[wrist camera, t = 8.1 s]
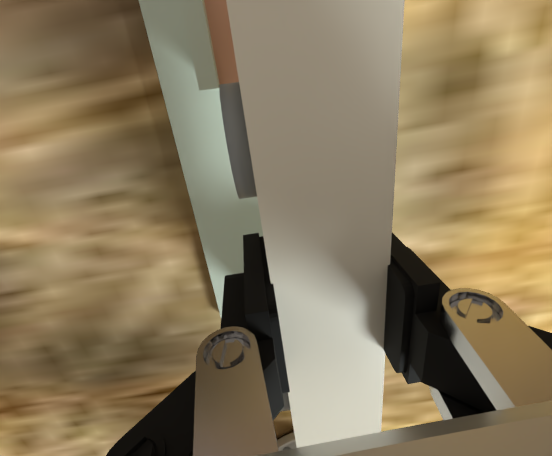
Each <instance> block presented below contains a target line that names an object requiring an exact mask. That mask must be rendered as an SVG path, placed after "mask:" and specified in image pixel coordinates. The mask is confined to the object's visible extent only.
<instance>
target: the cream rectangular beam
mask: <svg viewBox="0 0 552 456" xmlns="http://www.w3.org/2000/svg"><path fill="white" fill-rule="evenodd" d="M226 2H227V9H228V15H229V21H230V28H231V34H232V41H233V47H234V53H235V60H236V66H237V72H238V79H239V82H235V83H228V84H221V85H219V93H220V103H221V111H222V118H223V125H224V131H225V137H226V143H227V149H228V154H229V160H230V165H231V170H232V175H233V179H234V183H235V188H236V191H237V195H238V198H239V199H244V198H250V197H257V199H258V206H259V212H260V218H261V225H262V231H263V238H264V244H265V250H266V257H267V263H268V269H269V276H270V282H271V284H273V286H274V292H275V298H276V304H277V311H278V317H279V324H280V330H281V337H282V343H283V350H284V356H285V363H286V370H287V376H288V383H289V389H290V392H288V393H283V401H284V407H283V408H282V410H281V411H287V410H291V415H292V422H293V428H294V434H295V441H296V447H297V448H299V447H304V446H309V445H314V444H319V443H325V442H330V441H335V440H340V439H346V438H351V437H356V436H362V435H367V434H372V433H378V432H381V422H382V403H383V385H384V367H385V351H384V330H385V310H386V291H387V271H388V265H390V256H391V238H392V220H393V201H394V183H395V164H396V146H397V128H398V109H399V91H400V73H401V54H402V36H403V17H404V0H226ZM281 411H280V412H281Z"/></svg>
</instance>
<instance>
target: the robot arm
mask: <svg viewBox="0 0 552 456" xmlns="http://www.w3.org/2000/svg"><path fill="white" fill-rule="evenodd" d="M243 261H244V273H238V274H232V275H226V276H225V278H224V291H223V304H222V317H221V329H219V330H217V331H215V332H213V333H212V334H210V335H209V336H207V337H206V338H205V339H204V340H203V341H202V343H201V345H200V346H199V348H198V351H197V356H196V371H195V372H194V373H192V374H191V375H190V376H189V377H188V378H187V379H186V380H185V381H184V382H182V383H181V384H180V385H179V386H178V387H177V388H176V389H175V390H174V391H173V392H171V393H170V394H169V395H168V396H167V397H166V398H165V399H164V400H163V401H162V402H160V403H159V404H158V405H157V406H156V407H155V408H154V409H153V410H152V411H150V412H149V413H148V414H147V415H146V416H145V417H144V418H143V419H142V420H141V421H139V422H138V423H137V424H136V425H135V426H134V427H133V428H132V429H131V430H129V431H128V432H127V433H126V434H125V435H124V436H123V437H122V438H121V439H120V440H119V441H118V442H117V443H116V444H115V445H114V446H113V447H112V448H111V449H110V450H109V452H108V453H107V455H106V456H552V333H550V332H546V331H543V330H540V329H537V328H534V327H530V326H527V325H526V324H525V323H524V322H523V321H522V320H521V319H520V318H519V317H518V316H517V315H516V314H515V313H514V312H513V311H512V310H511V309H510V308H509V307H508V306H507V305H506V304H505V303H504V302H503V301H501V300H500V299H499V298H497V297H495V296H493V295H492V294H490V293H487V292H484V291H481V290H477V289H471V288H458V289H453V290H450V289H449V288H448V287H447V286H446V285H445V284H444V283H443V282H442V281H441V280H440V279H439V278H438V277H437V276H436V275H435V274H434V273H433V272H432V271H431V270H430V269H429V268H428V267H427V266H426V265H425V263H424V262H423V261H422V260H421V259H420V258H419V257H418V256H417V255H416V254H415V253H414V252H413V251H412V250H411V249H409V248H408V247H406V246H405V245H404V244H403V243H402V242H401V241H400V240H399V239H398V238H397V237H396V236H395V235H394V234H393V233H392V238H391V256H390V265H388V271H387V291H386V310H385V330H384V351H385V353H386V355H387V357H388V359H389V361H390V363H391V365H392V367H393V368H394V370H395V371H396V373H401V372H402V374H403V376H404V378H405V380H406V382H407V383H408V384H411V383H417V382H422V383H424V384H426V385H429V389H430V392H431V395H432V397H433V399H434V401H435V403H436V405H437V407H438V410H439V412H440V414H441V416H442V418H443V420H442V421H437V422H432V423H426V424H421V425H415V426H410V427H405V428H399V429H394V430H388V431H383V432H378V433H372V434H367V435H362V436H356V437H351V438H346V439H340V440H335V441H330V442H325V443H319V444H314V445H309V446H304V447H299V448H297V447H296V441H295V434H294V432H292V433H290V434H288V435H285V436H283V437H282V438H280V439H278V440H277V438H276V433H275V428H274V423H273V420H274V419H275V418H276V416H277V415H278V414H279V412H280V411H281V410H282V408H283V407H284V401H283V393H288V392H290V389H289V383H288V376H287V370H286V363H285V356H284V350H283V343H282V337H281V330H280V324H279V317H278V311H277V304H276V298H275V292H274V286H273V284H271V282H270V276H269V269H268V263H267V257H266V250H265V244H264V238H263V236H261V237H259V233H253V234H247V235H243Z"/></svg>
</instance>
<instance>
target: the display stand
mask: <svg viewBox="0 0 552 456" xmlns="http://www.w3.org/2000/svg"><path fill="white" fill-rule="evenodd" d="M139 4H140V8H141V12H142V16H143V19H144V23H145V27H146V31H147V35H148V39H149V43H150V46H151V50H152V54H153V58H154V62H155V66H156V69H157V73H158V77H159V81H160V85H161V89H162V93H163V96H164V100H165V104H166V108H167V112H168V116H169V120H170V123H171V127H172V131H173V135H174V139H175V143H176V146H177V150H178V154H179V158H180V162H181V166H182V170H183V173H184V177H185V181H186V185H187V189H188V193H189V197H190V200H191V204H192V208H193V212H194V216H195V220H196V224H197V227H198V231H199V235H200V239H201V243H202V247H203V250H204V254H205V258H206V262H207V266H208V270H209V274H210V277H211V281H212V285H213V289H214V293H215V297H216V301H217V304H218V308H219V312H220V316H221V317H222V304H223V291H224V278H225V276H226V275H232V274H238V273H244V261H243V235H247V234H253V233H259V237H261V236H263V231H262V225H261V218H260V212H259V206H258V199H257V197H250V198H244V199H239V198H238V195H237V191H236V188H235V183H234V179H233V175H232V170H231V165H230V160H229V154H228V149H227V143H226V137H225V131H224V125H223V118H222V111H221V103H220V93H219V85H221V84H228V83H235V82H239V79H238V72H237V66H236V60H235V53H234V47H233V41H232V34H231V28H230V21H229V15H228V9H227V2H226V0H139Z"/></svg>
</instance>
